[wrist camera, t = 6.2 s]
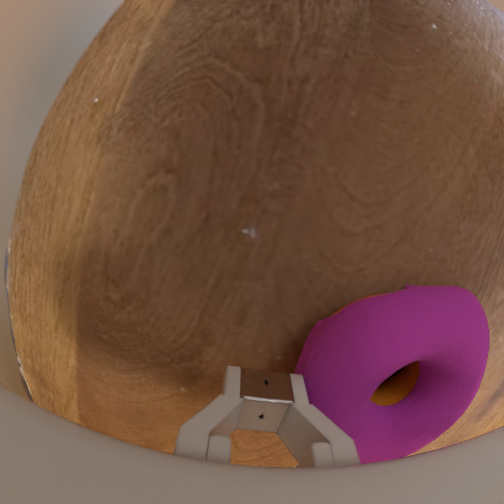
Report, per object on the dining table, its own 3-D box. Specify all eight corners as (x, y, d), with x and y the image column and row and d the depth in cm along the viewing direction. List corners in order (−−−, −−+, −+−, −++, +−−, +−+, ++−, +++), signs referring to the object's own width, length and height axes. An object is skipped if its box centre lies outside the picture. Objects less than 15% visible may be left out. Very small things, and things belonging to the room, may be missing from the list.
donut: (476, 267, 11) (533, 304, 7) (424, 405, 15) (450, 452, 10) (290, 270, 11) (312, 335, 7) (275, 428, 15) (281, 492, 10)
